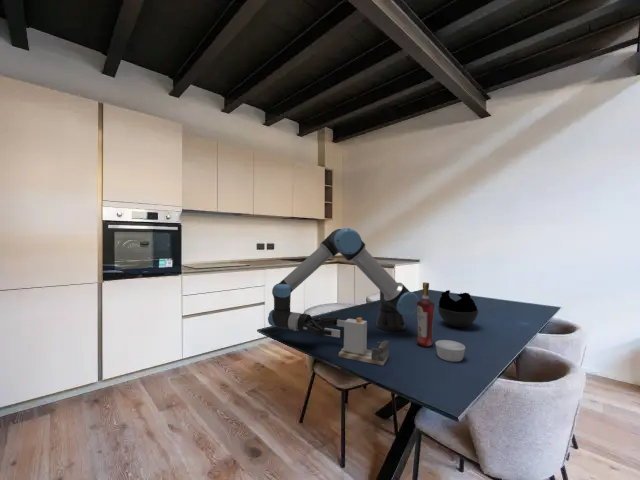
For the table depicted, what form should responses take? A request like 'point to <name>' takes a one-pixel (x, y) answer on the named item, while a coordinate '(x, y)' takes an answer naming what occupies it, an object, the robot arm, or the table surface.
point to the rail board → (370, 354)
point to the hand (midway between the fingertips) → (345, 329)
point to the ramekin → (450, 350)
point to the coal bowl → (457, 310)
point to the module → (355, 336)
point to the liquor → (425, 318)
